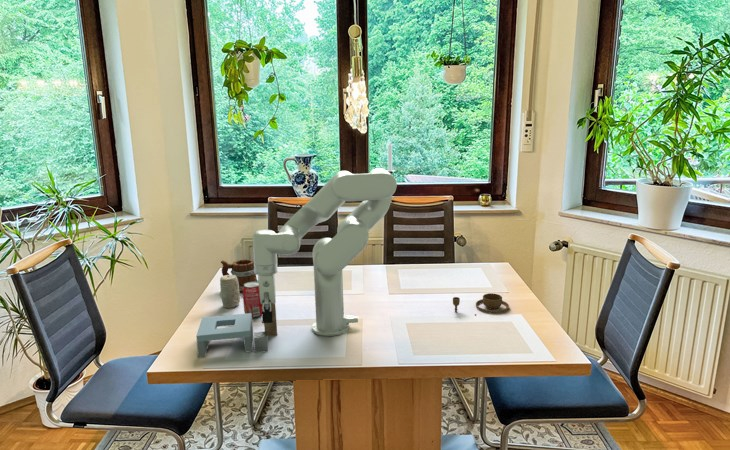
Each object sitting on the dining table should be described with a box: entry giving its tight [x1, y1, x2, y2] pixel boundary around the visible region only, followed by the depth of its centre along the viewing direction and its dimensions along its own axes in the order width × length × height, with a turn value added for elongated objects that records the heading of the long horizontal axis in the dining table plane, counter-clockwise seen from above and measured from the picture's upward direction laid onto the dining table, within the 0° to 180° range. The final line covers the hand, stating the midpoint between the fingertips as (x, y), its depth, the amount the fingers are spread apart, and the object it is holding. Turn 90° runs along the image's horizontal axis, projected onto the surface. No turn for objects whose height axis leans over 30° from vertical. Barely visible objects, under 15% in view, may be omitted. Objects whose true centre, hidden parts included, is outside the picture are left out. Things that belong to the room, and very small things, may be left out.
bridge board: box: [195, 313, 254, 358], centre depth 164 cm, size 16×14×7 cm
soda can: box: [242, 282, 263, 319], centre depth 186 cm, size 7×7×12 cm
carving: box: [219, 274, 241, 309], centre depth 195 cm, size 6×8×12 cm
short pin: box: [253, 330, 269, 353], centre depth 160 cm, size 4×4×5 cm
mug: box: [220, 258, 258, 294], centre depth 212 cm, size 12×14×15 cm
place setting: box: [452, 292, 510, 317], centre depth 189 cm, size 18×20×6 cm
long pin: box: [263, 301, 278, 337], centre depth 171 cm, size 4×4×11 cm
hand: (267, 316), depth 170 cm, fingers open, 9 cm apart
